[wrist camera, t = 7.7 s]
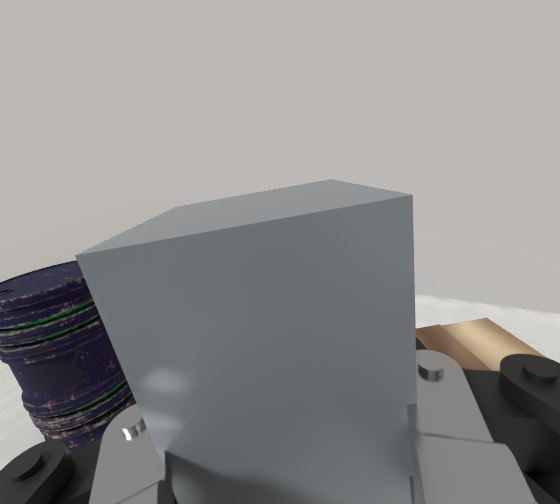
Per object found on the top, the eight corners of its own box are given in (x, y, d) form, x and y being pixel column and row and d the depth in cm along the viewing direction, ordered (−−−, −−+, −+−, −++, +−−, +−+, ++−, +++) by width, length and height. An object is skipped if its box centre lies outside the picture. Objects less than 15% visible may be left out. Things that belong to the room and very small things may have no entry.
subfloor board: (486, 327, 32) (487, 316, 31) (612, 416, 20) (616, 401, 20) (271, 364, 31) (269, 354, 31) (277, 477, 20) (274, 463, 20)
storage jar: (122, 364, 36) (80, 255, 31) (171, 386, 31) (129, 259, 26) (27, 429, 28) (-48, 296, 23) (72, 474, 23) (-14, 313, 18)
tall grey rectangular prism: (358, 447, 13) (329, 178, 9) (422, 628, 8) (412, 194, 4) (250, 467, 13) (177, 206, 9) (244, 663, 8) (75, 255, 4)
